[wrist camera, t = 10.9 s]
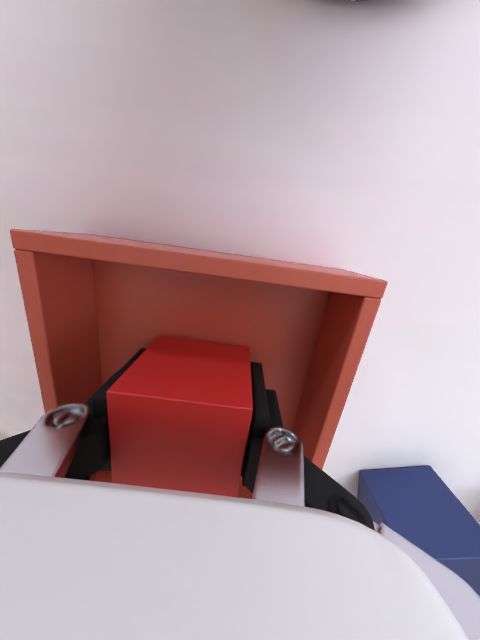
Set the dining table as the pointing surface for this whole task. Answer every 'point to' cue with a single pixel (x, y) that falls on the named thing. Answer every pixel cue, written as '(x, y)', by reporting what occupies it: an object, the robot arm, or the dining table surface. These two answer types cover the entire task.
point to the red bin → (194, 320)
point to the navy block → (424, 516)
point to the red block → (182, 417)
